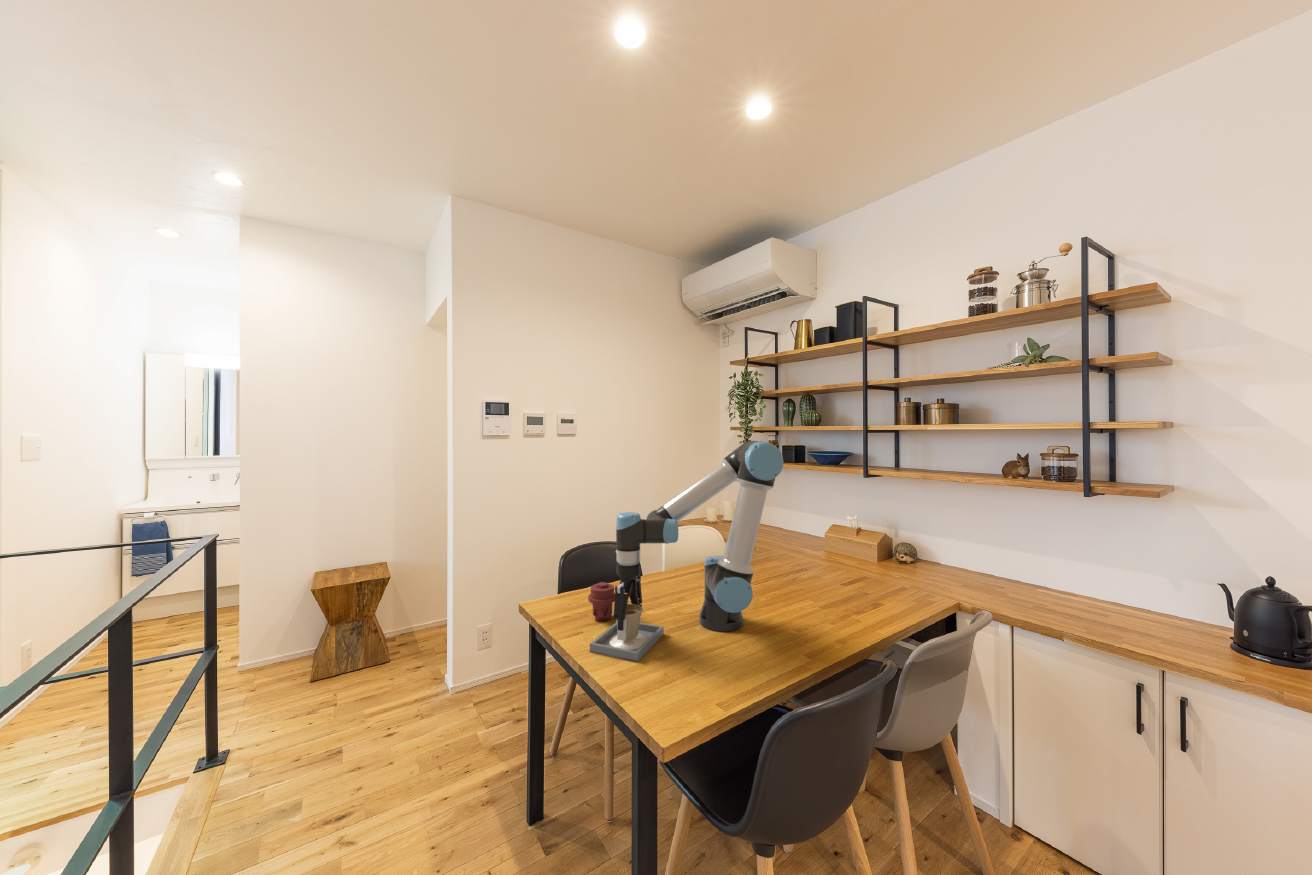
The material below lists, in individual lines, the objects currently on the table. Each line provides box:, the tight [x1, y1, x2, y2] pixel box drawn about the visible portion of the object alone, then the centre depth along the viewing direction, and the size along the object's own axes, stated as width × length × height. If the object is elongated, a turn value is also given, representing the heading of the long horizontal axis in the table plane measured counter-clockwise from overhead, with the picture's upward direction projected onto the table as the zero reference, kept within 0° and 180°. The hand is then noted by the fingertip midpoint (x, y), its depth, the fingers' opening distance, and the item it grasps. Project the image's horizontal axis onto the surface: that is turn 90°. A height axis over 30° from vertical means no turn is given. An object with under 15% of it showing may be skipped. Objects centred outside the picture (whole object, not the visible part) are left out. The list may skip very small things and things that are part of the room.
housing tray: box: [589, 622, 665, 663], centre depth 146 cm, size 16×20×2 cm
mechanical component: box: [588, 581, 615, 622], centre depth 165 cm, size 12×10×10 cm
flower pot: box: [612, 603, 644, 640], centre depth 146 cm, size 9×9×9 cm
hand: (628, 633), depth 146 cm, fingers closed on flower pot, 8 cm apart
